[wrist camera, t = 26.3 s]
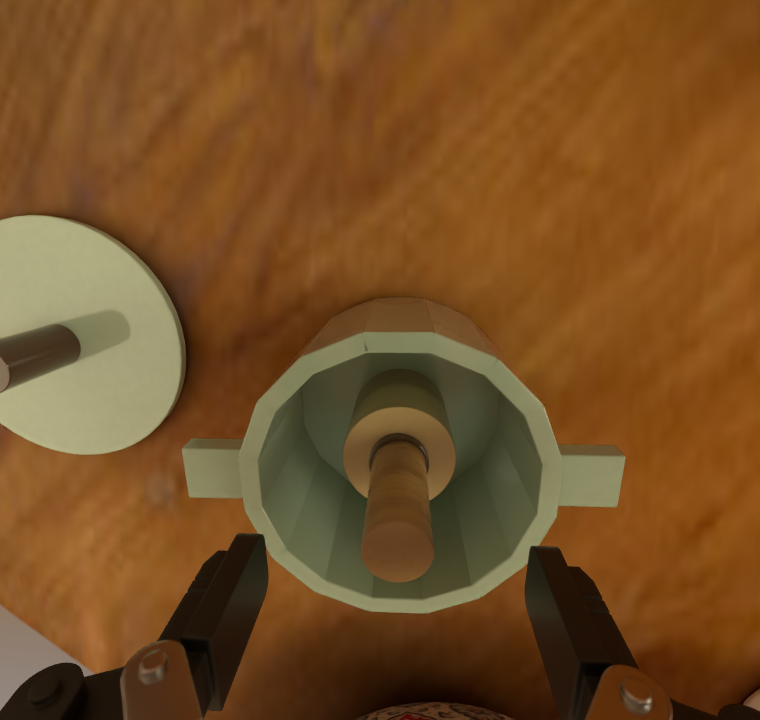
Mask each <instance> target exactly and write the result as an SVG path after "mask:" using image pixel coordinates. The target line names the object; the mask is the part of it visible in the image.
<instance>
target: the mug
mask: <svg viewBox="0 0 760 720" xmlns="http://www.w3.org/2000/svg"><path fill="white" fill-rule="evenodd" d="M742 705H745V706H748V707H752V708H754V709H756V710H758V711H760V689H758V690H757V691H755V692H754V693H753V694H751V695H750V696H749V697H748V698H747V699H746V700H745V702H744V703H743V704H742Z"/></svg>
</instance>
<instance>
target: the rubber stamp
mask: <svg viewBox="0 0 760 720" xmlns="http://www.w3.org/2000/svg"><path fill="white" fill-rule="evenodd" d="M343 465H344V469H345V472H346V474H347V477H348V479H349V480H350V482H351V484H352V485H353V486H354V487H355V489H356V490H357V491H358V492H359V493H361V494H362V495H363V496H364V497H366V498H367V504H366V512H365V519H364V526H363V534H362V541H361V557H362V560H363V562H364V564H365V566H366V567H367V569H368V570H369V571H370V572H371V573H372V574H374V575H375V576H377V577H379V578H381V579H383V580H386V581H390V582H407V581H411V580H414V579H416V578H418V577H420V576H421V575H423V574H424V573H425V572H426V571H427V570H428V569H429V567H430V565H431V563H432V561H433V558H434V545H433V534H432V523H431V513H430V502H429V500H431V499H433V498H434V497H436V496H437V495H438V494H440V493H441V492H442V491H443V490H444V488H445V487H446V486H447V485H448V483H449V481H450V480H451V478H452V476H453V473H454V470H455V466H456V450H455V445H454V441H453V437H452V432H451V428H450V424H449V420H448V415H447V411H446V407H445V403H444V399H443V396H442V394H441V392H440V390H439V389H438V387H437V386H436V385H435V384H434V383H433V382H432V381H431V380H430V379H429V378H427V377H426V376H424V375H423V374H420V373H418V372H416V371H413V370H408V369H392V370H387V371H384V372H381V373H379V374H377V375H375V376H374V377H372V378H371V379H370V380H369V381H367V383H366V384H365V385H364V386H363V387H362V389H361V390H360V392H359V394H358V397H357V400H356V403H355V407H354V411H353V414H352V418H351V421H350V425H349V429H348V432H347V436H346V440H345V443H344V448H343Z"/></svg>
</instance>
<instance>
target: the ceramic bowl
mask: <svg viewBox="0 0 760 720" xmlns="http://www.w3.org/2000/svg"><path fill="white" fill-rule="evenodd" d="M355 720H515V719H513V718H511V717H508V716H505V715H503V714H500V713H497V712H494V711H490V710H487V709H484V708H479V707H475V706H471V705H464V704H458V703H447V702H421V703H410V704H403V705H398V706H393V707H388V708H385V709H382V710H378V711H375V712H372V713H369V714H367V715H364V716H362V717H359V718H357V719H355Z"/></svg>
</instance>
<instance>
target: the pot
mask: <svg viewBox="0 0 760 720" xmlns="http://www.w3.org/2000/svg"><path fill="white" fill-rule="evenodd" d="M392 369H408V370H413V371H416V372H418V373H420V374H423V375H424V376H426V377H427V378H429V379H430V380H431V381H432V382H433V383H434V384H435V385H436V386H437V387H438V389H439V390H440V392H441V394H442V396H443V399H444V403H445V407H446V411H447V415H448V420H449V424H450V428H451V432H452V437H453V441H454V445H455V450H456V466H455V470H454V473H453V476H452V478H451V480H450V481H449V483H448V485H447V486H446V487H445V488H444V490H443V491H442V492H441V493H440V494H438V495H437V496H436V497H434V498H433V499H431V500H429V502H430V513H431V523H432V534H433V545H434V558H433V561H432V563H431V565H430V567H429V569H428V570H427V571H426V572H425V573H424V574H423V575H421V576H420V577H418V578H416V579H414V580H411V581H407V582H390V581H386V580H383V579H381V578H379V577H377V576H375V575H374V574H372V573H371V572H370V571H369V570H368V569H367V567H366V566H365V564H364V562H363V560H362V557H361V541H362V534H363V526H364V519H365V512H366V504H367V498H366V497H364V496H363V495H362V494H361V493H359V492H358V491H357V490H356V489H355V487H354V486H353V485H352V484H351V482H350V480H349V479H348V477H347V474H346V472H345V469H344V465H343V448H344V443H345V440H346V436H347V432H348V429H349V425H350V421H351V418H352V414H353V411H354V407H355V403H356V400H357V397H358V394H359V392H360V390H361V389H362V387H363V386H364V385H365V384H366V383H367V381H369V380H370V379H371V378H372V377H374V376H375V375H377V374H379V373H381V372H384V371H387V370H392ZM182 455H183V462H184V468H185V474H186V481H187V487H188V494H189V497H194V498H236V499H243V502H244V510H245V512H246V514H247V516H248V518H249V519H250V521H251V523H252V524H253V526H254V528H255V530H256V531H257V533H258V534H263V535H264V538H265V545H266V548H267V550H268V552H269V554H270V555H271V557H272V558H273V559H274V560H275V561H276V562H278V563H279V564H280V565H281V566H283V567H284V568H285V569H286V570H288V571H289V572H290V573H291V574H293V575H294V576H295V577H296V578H298V579H299V580H300V581H301V582H303V583H304V584H305V585H306V586H308V587H309V588H310V589H311V590H313V591H314V592H317V593H319V594H322V595H324V596H327V597H330V598H333V599H335V600H338V601H341V602H344V603H346V604H349V605H352V606H355V607H357V608H360V609H363V610H366V611H368V610H369V611H370V612H392V613H419V614H424V613H425V612H426V613H431V612H434V611H438V610H441V609H445V608H448V607H452V606H455V605H459V604H462V603H466V602H469V601H473V600H476V599H479V598H480V597H483V596H484V595H485V594H487V593H488V592H490V591H491V590H492V589H494V588H495V587H497V586H498V585H499V584H501V583H502V582H504V581H505V580H506V579H508V578H509V577H511V576H512V575H513V574H515V573H516V572H518V571H519V570H520V569H522V568H523V567H525V564H527V563H528V557H529V550H530V547H531V546H539V544H540V543H541V541H542V540H543V538H544V536H545V535H546V533H547V532H548V530H549V529H550V527H551V525H552V524H553V522H554V521H555V518H556V517H557V509H558V506H583V507H617V505H618V499H619V493H620V487H621V481H622V476H623V470H624V464H625V455H624V454H623V453H622V452H621V451H620V450H619V449H618V448H617V447H616V446H614V445H562V444H557V442H556V439H555V436H554V433H553V430H552V427H551V424H550V421H549V418H548V416H547V413H546V410H545V407H544V405H543V404H542V402H541V401H540V400H539V399H538V397H537V396H536V395H535V393H534V392H533V391H532V390H531V388H530V387H529V386H528V385H527V383H526V382H525V381H524V380H523V378H522V377H521V376H520V375H519V373H518V372H517V371H516V370H515V368H514V367H513V366H512V365H511V363H510V362H509V361H508V360H507V358H506V357H505V356H504V354H503V353H502V352H501V351H500V349H499V348H498V347H497V346H496V345H495V344H494V343H493V342H492V341H491V340H490V339H489V338H488V337H487V336H486V335H485V334H484V333H483V331H482V330H481V329H479V328H478V327H477V326H476V324H475V323H474V322H473V321H472V320H471V319H470V318H469V317H467V316H465V315H463V314H461V313H459V312H457V311H455V310H453V309H451V308H449V307H447V306H444V305H441V304H438V303H435V302H433V301H429V300H427V299H424V298H411V297H390V298H376V299H373V300H371V301H368V302H365V303H362V304H359V305H356V306H354V307H352V308H350V309H348V310H346V311H344V312H342V313H340V314H337V315H335V316H333V317H332V318H331V319H330V320H329V321H328V322H327V323H326V324H325V325H324V326H323V327H322V328H321V329H320V330H319V331H318V332H317V333H316V334H315V335H314V336H313V337H312V338H311V339H310V341H309V342H308V343H307V344H306V345H305V346H304V347H303V348H302V349H301V350H300V351H299V353H298V354H297V355H296V356H295V357H294V358H293V360H292V361H291V362H290V363H289V364H288V365H287V367H286V368H285V369H284V370H283V371H282V373H281V374H280V375H279V376H278V377H277V378H276V380H275V381H274V382H273V383H272V384H271V385H270V387H269V388H268V389H267V390H266V391H265V393H264V394H263V395H262V396H261V397H260V398H259V400H258V401H257V403H256V405H255V408H254V411H253V414H252V417H251V420H250V423H249V426H248V429H247V431H246V434H245V437H244V439H208V438H192V439H191V440H190V441H189V442H188V443H187V444H186V445H185V446H184V447H183V448H182Z"/></svg>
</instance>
